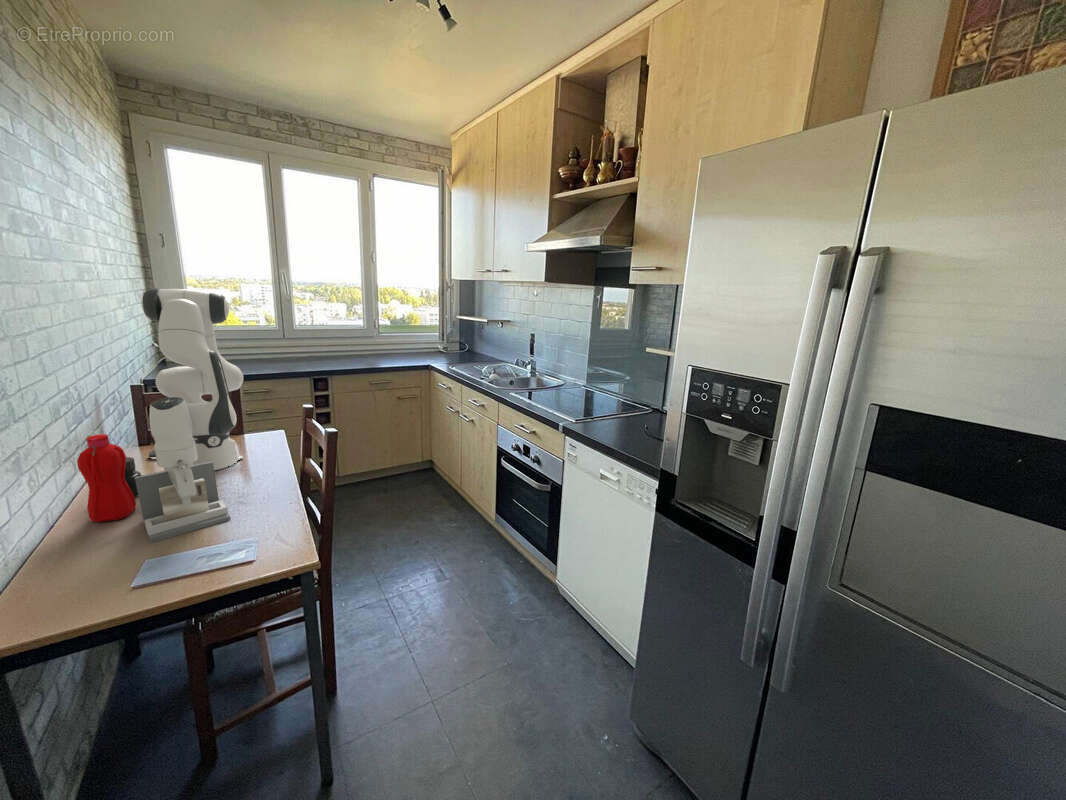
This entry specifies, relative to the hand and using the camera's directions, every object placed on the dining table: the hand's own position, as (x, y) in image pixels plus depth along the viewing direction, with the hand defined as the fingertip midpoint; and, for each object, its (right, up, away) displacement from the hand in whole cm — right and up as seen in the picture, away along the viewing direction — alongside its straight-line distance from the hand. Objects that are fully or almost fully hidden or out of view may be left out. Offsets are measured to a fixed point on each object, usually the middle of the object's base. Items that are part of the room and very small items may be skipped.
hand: (185, 501), depth 123 cm
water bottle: (-25, -6, +4) cm, 26 cm away
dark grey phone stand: (-53, +8, +59) cm, 80 cm away
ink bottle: (-33, -2, +18) cm, 38 cm away
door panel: (0, -6, +1) cm, 6 cm away
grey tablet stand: (-2, -6, +3) cm, 7 cm away
